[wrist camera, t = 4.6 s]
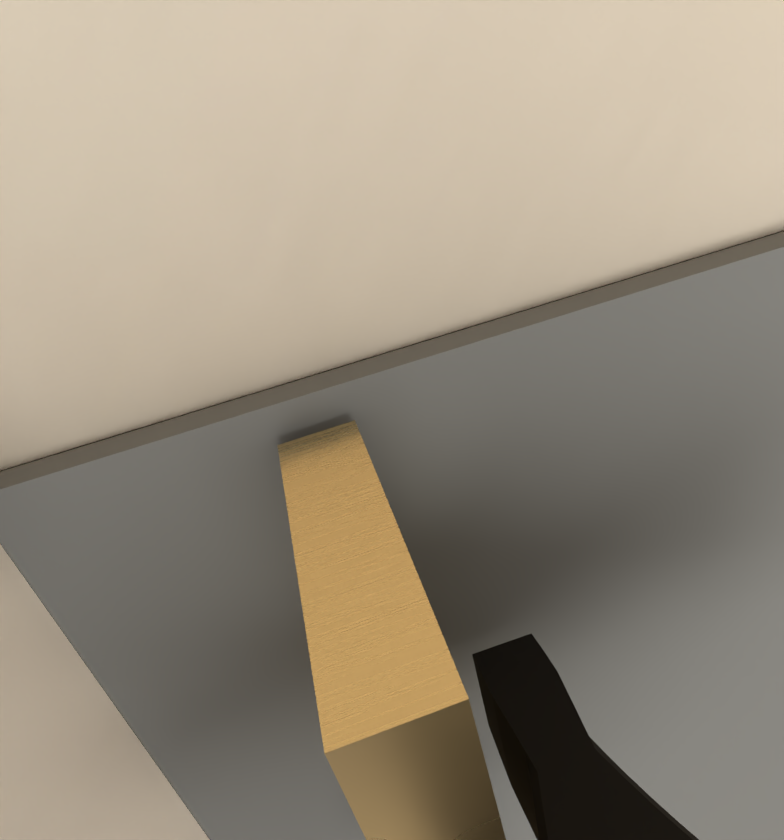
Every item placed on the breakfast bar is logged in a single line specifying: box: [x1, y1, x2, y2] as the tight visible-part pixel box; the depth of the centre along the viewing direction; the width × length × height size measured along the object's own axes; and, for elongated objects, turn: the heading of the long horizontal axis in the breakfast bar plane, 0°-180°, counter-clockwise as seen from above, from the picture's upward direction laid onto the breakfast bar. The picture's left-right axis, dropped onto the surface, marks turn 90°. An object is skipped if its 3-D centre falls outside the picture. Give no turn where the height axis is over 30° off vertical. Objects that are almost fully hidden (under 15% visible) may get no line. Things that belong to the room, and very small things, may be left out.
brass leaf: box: [277, 420, 506, 840], centre depth 10 cm, size 11×2×5 cm, turn 13°
